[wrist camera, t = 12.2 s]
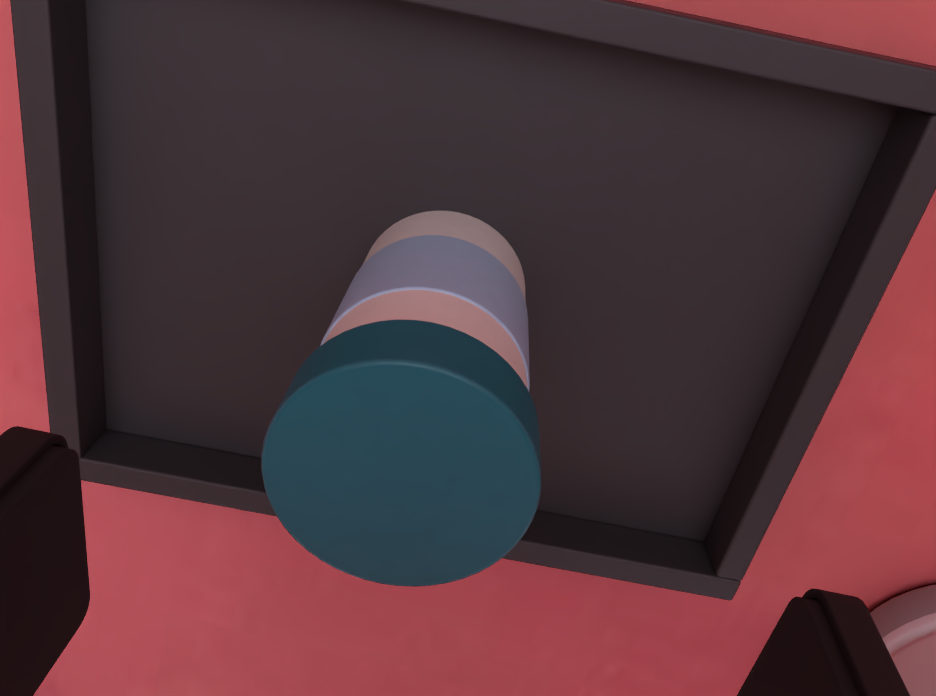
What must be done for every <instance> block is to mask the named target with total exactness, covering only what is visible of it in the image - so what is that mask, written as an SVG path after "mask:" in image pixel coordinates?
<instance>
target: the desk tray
mask: <svg viewBox="0 0 936 696" xmlns="http://www.w3.org/2000/svg"><path fill="white" fill-rule="evenodd" d="M10 1H11V12H12V23H13V34H14V45H15V56H16V66H17V77H18V88H19V99H20V110H21V121H22V131H23V142H24V153H25V164H26V175H27V186H28V196H29V207H30V218H31V229H32V240H33V250H34V261H35V272H36V283H37V294H38V305H39V315H40V326H41V337H42V348H43V359H44V370H45V380H46V391H47V402H48V413H49V424H50V433H53V434H58V435H61V436H64V438H65V439H66V441H67V445H68V449H73V450H76V452H77V453H78V457H79V466H80V478H81V480H84V481H89V482H95V483H100V484H105V485H111V486H116V487H121V488H127V489H132V490H138V491H143V492H148V493H154V494H159V495H165V496H170V497H175V498H181V499H186V500H192V501H197V502H202V503H208V504H213V505H218V506H224V507H229V508H235V509H240V510H245V511H251V512H256V513H262V514H267V515H272V516H276V514H275V512H274V510H273V508H272V506H271V504H270V502H269V499H268V496H267V493H266V490H265V487H264V482H263V476H262V470H261V454H262V447H263V441H264V438H265V435H266V432H267V429H268V426H269V424H270V422H271V420H272V418H273V416H274V414H275V412H276V411H277V409H278V407H279V405H280V403H281V401H282V399H283V397H284V395H285V393H286V392H287V390H288V388H289V386H290V384H291V382H292V380H293V378H294V376H295V374H296V373H297V371H298V369H299V368H300V367H301V365H302V364H303V363H304V361H305V360H306V359H307V358H308V357H309V356H310V355H311V354H312V353H313V352H314V351H315V350H316V349H317V348H318V347H320V345H321V342H322V340H323V338H324V336H325V334H326V332H327V330H328V328H329V326H330V324H331V322H332V320H333V318H334V316H335V314H336V312H337V310H338V308H339V306H340V304H341V302H342V300H343V298H344V296H345V294H346V292H347V290H348V288H349V286H350V284H351V282H352V280H353V279H354V277H355V275H356V273H357V272H358V271H359V269H360V268H361V266H362V265H363V263H364V261H365V259H366V257H367V255H368V253H369V251H370V249H371V247H372V246H373V244H374V243H375V242H376V240H377V239H378V238H379V237H380V236H381V235H382V234H383V233H384V231H385V230H387V229H388V228H389V227H391V226H392V225H393V224H395V223H397V222H398V221H400V220H402V219H404V218H406V217H409V216H411V215H414V214H418V213H422V212H427V211H453V212H459V213H463V214H466V215H470V216H472V217H474V218H477V219H479V220H481V221H483V222H485V223H486V224H488V225H490V226H491V227H492V228H494V229H495V230H496V231H498V232H499V233H500V234H501V235H502V236H503V237H504V238H505V239H506V240H507V242H508V243H509V244H510V246H511V247H512V248H513V250H514V252H515V253H516V255H517V257H518V259H519V261H520V264H521V266H522V270H523V274H524V280H525V298H526V307H527V314H528V335H529V374H530V387H529V393H530V396H531V398H532V400H533V402H534V405H535V409H536V413H537V416H538V423H539V432H540V455H541V494H540V499H539V504H538V508H537V510H536V513H535V516H534V518H533V521H532V522H531V524H530V526H529V527H528V529H527V531H526V533H525V534H524V536H523V537H522V538H521V539H520V541H519V542H518V543H517V544H516V545H515V547H514V548H513V549H511V550H510V551H509V552H508V553H507V554H506V555H505V556H504V557H503V558H504V559H509V560H515V561H520V562H526V563H531V564H536V565H542V566H547V567H553V568H558V569H563V570H569V571H574V572H580V573H585V574H590V575H596V576H601V577H606V578H612V579H617V580H623V581H628V582H633V583H639V584H644V585H650V586H655V587H660V588H666V589H671V590H677V591H682V592H687V593H693V594H698V595H703V596H709V597H714V598H720V599H725V600H732V599H733V597H734V595H735V593H736V591H737V589H738V587H739V585H740V580H742V579H743V577H744V575H745V573H746V571H747V569H748V567H749V565H750V563H751V561H752V559H753V557H754V555H755V553H756V551H757V549H758V546H759V544H760V542H761V540H762V538H763V536H764V534H765V532H766V530H767V528H768V526H769V524H770V522H771V520H772V518H773V516H774V514H775V512H776V510H777V508H778V506H779V504H780V502H781V500H782V498H783V496H784V494H785V492H786V490H787V488H788V486H789V484H790V482H791V480H792V478H793V476H794V474H795V472H796V470H797V468H798V466H799V464H800V462H801V460H802V458H803V456H804V454H805V452H806V450H807V448H808V446H809V444H810V442H811V440H812V438H813V436H814V433H815V431H816V429H817V427H818V425H819V423H820V421H821V419H822V417H823V415H824V413H825V411H826V409H827V407H828V405H829V403H830V401H831V399H832V397H833V395H834V393H835V391H836V389H837V387H838V385H839V383H840V381H841V379H842V377H843V375H844V373H845V371H846V369H847V367H848V365H849V363H850V361H851V359H852V357H853V355H854V353H855V351H856V349H857V347H858V345H859V343H860V341H861V339H862V337H863V335H864V333H865V331H866V329H867V327H868V325H869V323H870V320H871V318H872V316H873V314H874V312H875V310H876V308H877V306H878V304H879V302H880V300H881V298H882V296H883V294H884V292H885V290H886V288H887V286H888V284H889V282H890V280H891V278H892V276H893V274H894V272H895V270H896V268H897V266H898V264H899V262H900V260H901V258H902V256H903V254H904V252H905V250H906V248H907V246H908V244H909V242H910V240H911V238H912V236H913V234H914V232H915V230H916V228H917V226H918V224H919V222H920V220H921V218H922V216H923V214H924V212H925V210H926V208H927V205H928V203H929V201H930V199H931V197H932V195H933V193H934V191H935V189H936V66H931V65H926V64H922V63H917V62H912V61H908V60H903V59H898V58H893V57H889V56H884V55H879V54H875V53H870V52H865V51H861V50H856V49H851V48H847V47H842V46H837V45H833V44H828V43H823V42H819V41H814V40H809V39H805V38H800V37H795V36H790V35H786V34H781V33H776V32H772V31H767V30H762V29H758V28H753V27H748V26H744V25H739V24H734V23H730V22H725V21H720V20H716V19H711V18H706V17H701V16H697V15H692V14H687V13H683V12H678V11H673V10H669V9H664V8H659V7H655V6H650V5H645V4H641V3H636V2H631V1H627V0H10Z"/></svg>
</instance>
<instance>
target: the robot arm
mask: <svg viewBox="0 0 936 696" xmlns="http://www.w3.org/2000/svg"><path fill="white" fill-rule="evenodd" d="M89 601H90V589H89V576H88V564H87V552H86V539H85V527H84V515H83V502H82V490H81V478H80V466H79V457H78V453H77V452H76V450H73V449H68V445H67V441H66V439H65V438H64V436H61V435H58V434H53V433H48V432H43V431H38V430H33V429H28V428H23V427H18V426H16V427H12V428H10V429H8V430H7V431H6V432H4V433H3V434H2V435H1V436H0V696H33V695H34V693H35V692H36V690H37V689H38V687H39V686H40V684H41V683H42V681H43V680H44V678H45V677H46V675H47V674H48V672H49V671H50V669H51V668H52V667H53V665H54V664H55V662H56V661H57V659H58V658H59V656H60V655H61V653H62V652H63V650H64V649H65V647H66V646H67V644H68V643H69V641H70V640H71V638H72V637H73V635H74V634H75V632H76V631H77V629H78V628H79V626H80V625H81V623H82V621H83V619H84V617H85V615H86V612H87V609H88V606H89ZM737 696H910V694H909V692H908V690H907V688H906V686H905V684H904V682H903V680H902V678H901V676H900V674H899V672H898V670H897V668H896V666H895V664H894V662H893V660H892V657H891V655H890V653H889V651H888V649H887V647H886V645H885V643H884V641H883V639H882V637H881V635H880V633H879V631H878V629H877V627H876V625H875V623H874V621H873V619H872V617H871V615H870V613H869V611H868V608H867V607H866V605H865V604H864V602H863V601H862V600H860V599H859V598H857V597H853V596H848V595H843V594H839V593H834V592H829V591H824V590H819V589H810V590H809V591H807V592H806V593H805V594H804V596H803V597H802V598H801V597H795V598H793V599H792V600H791V601H790V602H789V604H788V605H787V607H786V609H785V611H784V613H783V614H782V616H781V618H780V620H779V621H778V623H777V625H776V627H775V629H774V630H773V632H772V634H771V636H770V637H769V639H768V641H767V643H766V645H765V646H764V648H763V650H762V652H761V654H760V655H759V657H758V659H757V661H756V662H755V664H754V666H753V668H752V670H751V671H750V673H749V675H748V677H747V678H746V680H745V682H744V684H743V686H742V687H741V689H740V691H739V693H738V695H737Z"/></svg>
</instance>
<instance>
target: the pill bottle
mask: <svg viewBox="0 0 936 696" xmlns="http://www.w3.org/2000/svg"><path fill="white" fill-rule="evenodd" d="M529 387H530V374H529V335H528V314H527V307H526V298H525V280H524V274H523V270H522V266H521V264H520V261H519V259H518V257H517V255H516V253H515V252H514V250H513V248H512V247H511V246H510V244H509V243H508V242H507V240H506V239H505V238H504V237H503V236H502V235H501V234H500V233H499V232H498V231H496V230H495V229H494V228H492V227H491V226H490V225H488V224H486V223H485V222H483V221H481V220H479V219H477V218H474V217H472V216H470V215H466V214H463V213H459V212H453V211H427V212H422V213H418V214H414V215H411V216H409V217H406V218H404V219H402V220H400V221H398V222H397V223H395V224H393V225H392V226H391V227H389V228H388V229H387V230H385V231H384V233H383V234H382V235H381V236H380V237H379V238H378V239H377V240H376V242H375V243H374V244H373V246H372V247H371V249H370V251H369V253H368V255H367V257H366V259H365V261H364V263H363V265H362V266H361V268H360V269H359V271H358V272H357V273H356V275H355V277H354V279H353V280H352V282H351V284H350V286H349V288H348V290H347V292H346V294H345V296H344V298H343V300H342V302H341V304H340V306H339V308H338V310H337V312H336V314H335V316H334V318H333V320H332V322H331V324H330V326H329V328H328V330H327V332H326V334H325V336H324V338H323V340H322V342H321V345H320V347H318V348H317V349H316V350H315V351H314V352H313V353H312V354H311V355H310V356H309V357H308V358H307V359H306V360H305V361H304V363H303V364H302V365H301V367H300V368H299V369H298V371H297V373H296V374H295V376H294V378H293V380H292V382H291V384H290V386H289V388H288V390H287V392H286V393H285V395H284V397H283V399H282V401H281V403H280V405H279V407H278V409H277V411H276V412H275V414H274V416H273V418H272V420H271V422H270V424H269V426H268V429H267V432H266V435H265V438H264V441H263V447H262V454H261V470H262V476H263V482H264V487H265V490H266V493H267V496H268V499H269V502H270V504H271V506H272V508H273V510H274V512H275V514H276V516H277V517H278V518H279V520H280V521H281V523H282V524H283V526H284V527H285V528H286V530H287V531H288V532H289V533H290V534H291V535H292V536H293V538H294V539H295V540H296V541H297V542H299V543H300V544H301V545H302V546H303V547H304V548H305V549H306V550H308V551H309V552H310V553H312V554H313V555H314V556H316V557H317V558H319V559H320V560H322V561H323V562H325V563H327V564H329V565H330V566H332V567H334V568H336V569H338V570H341V571H343V572H345V573H347V574H350V575H352V576H355V577H358V578H361V579H364V580H368V581H373V582H377V583H381V584H388V585H396V586H431V585H437V584H444V583H449V582H453V581H456V580H460V579H463V578H466V577H468V576H471V575H474V574H476V573H478V572H480V571H482V570H484V569H486V568H488V567H490V566H491V565H493V564H494V563H496V562H497V561H498V560H500V559H501V558H503V557H504V556H505V555H506V554H507V553H508V552H509V551H510V550H511V549H513V548H514V547H515V545H516V544H517V543H518V542H519V541H520V539H521V538H522V537H523V536H524V534H525V533H526V531H527V529H528V527H529V526H530V524H531V522H532V521H533V518H534V516H535V513H536V510H537V508H538V504H539V499H540V494H541V455H540V432H539V423H538V416H537V413H536V409H535V405H534V402H533V400H532V398H531V396H530V393H529Z"/></svg>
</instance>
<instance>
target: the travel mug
mask: <svg viewBox="0 0 936 696" xmlns="http://www.w3.org/2000/svg"><path fill="white" fill-rule="evenodd" d="M870 615H871V617H872V619H873V621H874V623H875V625H876V627H877V629H878V631H879V633H880V635H881V637H882V639H883V641H884V643H885V645H886V647H887V649H888V651H889V653H890V655H891V657H892V660H893V662H894V664H895V666H896V668H897V670H898V672H899V674H900V676H901V678H902V680H903V682H904V684H905V686H906V688H907V690H908V692H909V694H910V696H936V584H935V585H929V586H926V587H922V588H918V589H915V590H911V591H909V592H906V593H904V594H901V595H899V596H897V597H894V598H892V599H890V600H889V601H887V602H885V603H883V604H882V605H880V606H878V607H877V608H875V609H874V610H873V611H872V612H870Z"/></svg>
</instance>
